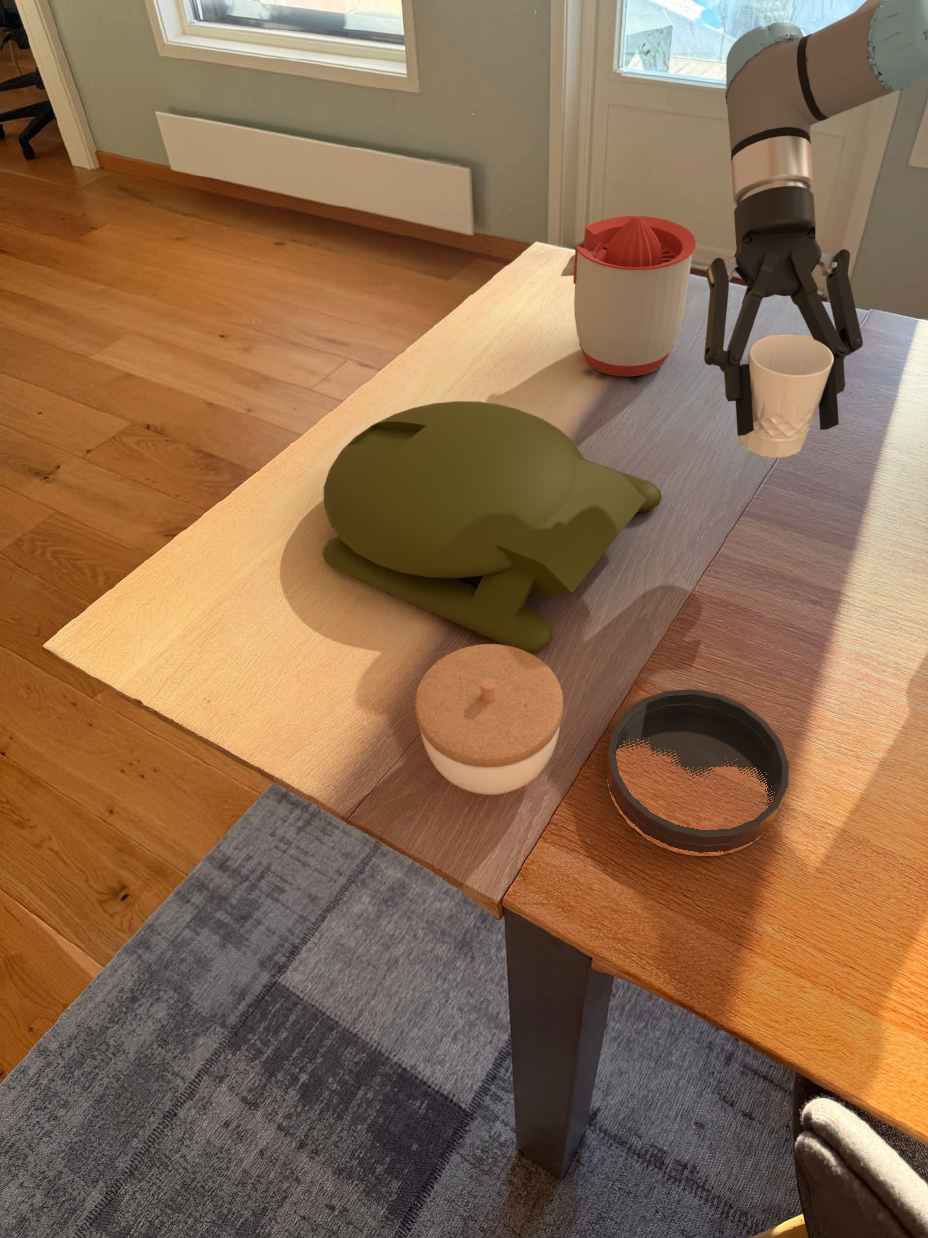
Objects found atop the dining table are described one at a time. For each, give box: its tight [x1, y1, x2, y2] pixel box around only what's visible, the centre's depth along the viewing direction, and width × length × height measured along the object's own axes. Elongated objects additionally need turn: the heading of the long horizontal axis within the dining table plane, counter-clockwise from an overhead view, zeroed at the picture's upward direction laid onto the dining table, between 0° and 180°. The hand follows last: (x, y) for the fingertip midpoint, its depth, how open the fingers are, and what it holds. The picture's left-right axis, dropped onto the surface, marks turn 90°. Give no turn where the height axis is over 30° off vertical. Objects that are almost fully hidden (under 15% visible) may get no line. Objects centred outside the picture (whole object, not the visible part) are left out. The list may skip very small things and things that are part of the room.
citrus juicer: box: [560, 215, 697, 377], centre depth 123 cm, size 16×17×20 cm
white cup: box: [737, 333, 834, 459], centre depth 92 cm, size 8×8×10 cm
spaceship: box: [322, 400, 662, 654], centre depth 103 cm, size 35×31×10 cm
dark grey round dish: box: [605, 688, 790, 853], centre depth 80 cm, size 15×15×4 cm
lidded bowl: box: [414, 643, 564, 796], centre depth 79 cm, size 13×13×11 cm
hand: (787, 429), depth 90 cm, fingers closed on white cup, 8 cm apart
